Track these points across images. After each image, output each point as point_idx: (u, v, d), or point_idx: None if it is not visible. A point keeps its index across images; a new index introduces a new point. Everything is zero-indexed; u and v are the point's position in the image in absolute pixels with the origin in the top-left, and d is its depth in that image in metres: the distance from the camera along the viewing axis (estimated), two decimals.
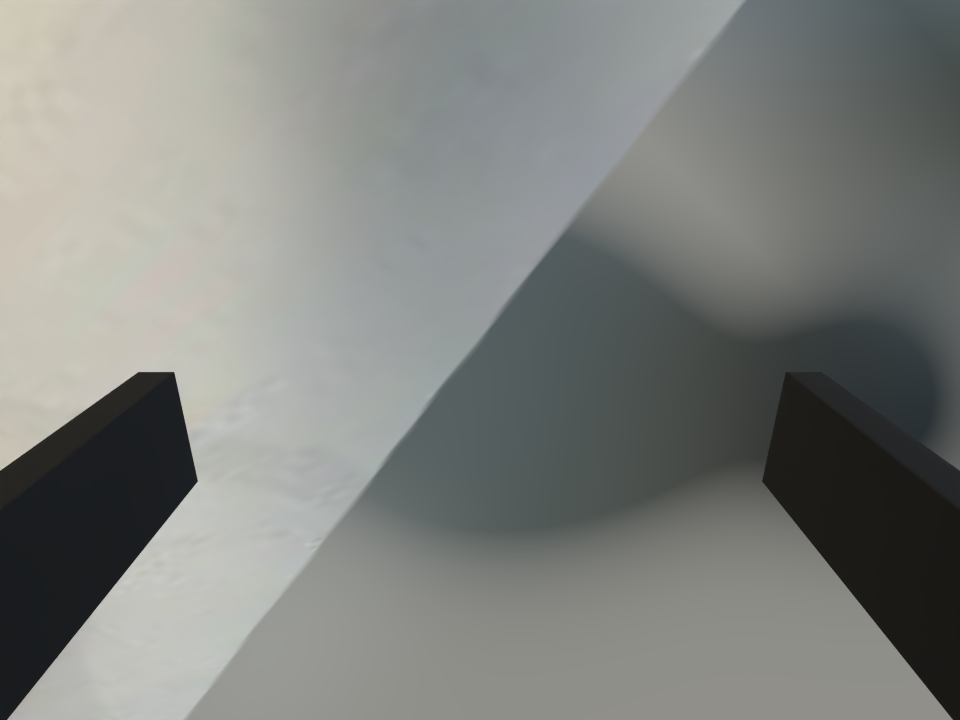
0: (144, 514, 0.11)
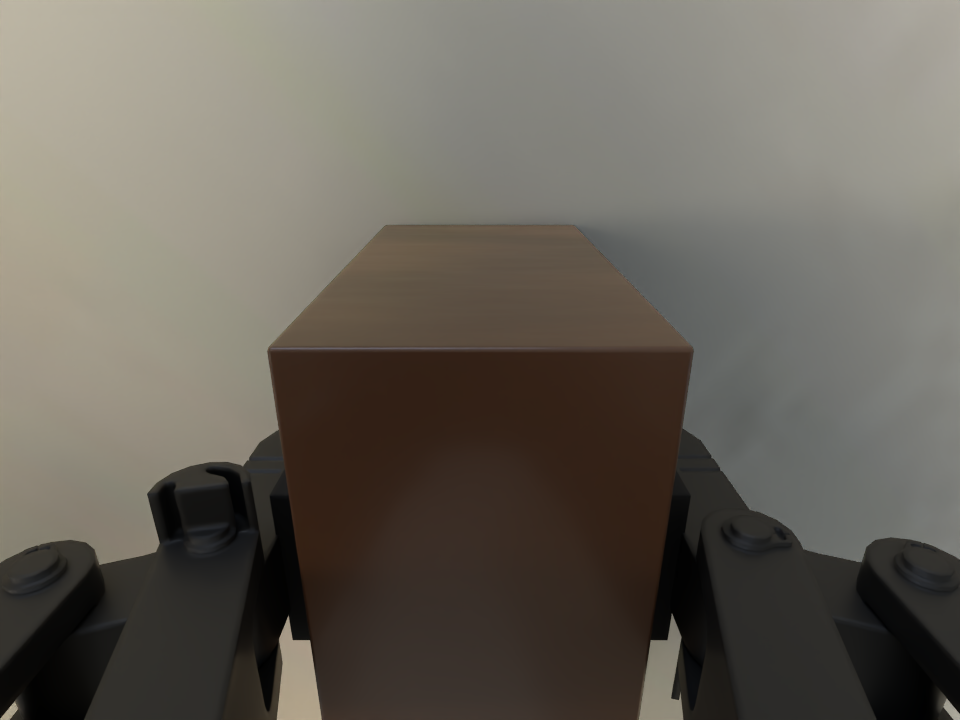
0: None
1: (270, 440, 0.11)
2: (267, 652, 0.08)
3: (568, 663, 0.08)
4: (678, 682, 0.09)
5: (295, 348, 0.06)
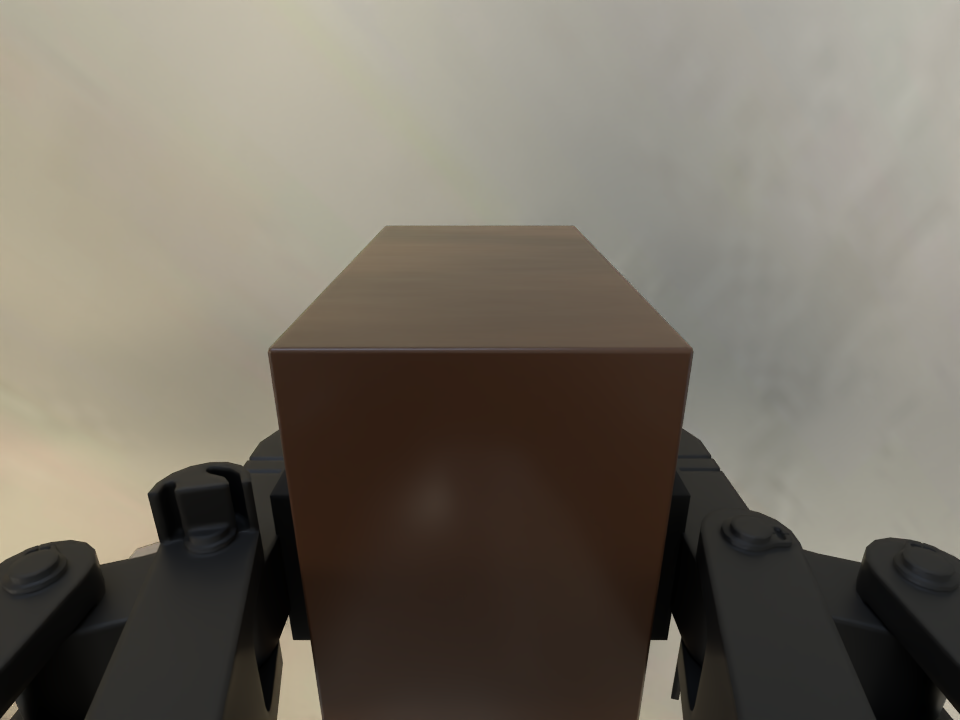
0: None
1: (271, 440, 0.11)
2: (267, 652, 0.08)
3: (568, 663, 0.08)
4: (678, 682, 0.09)
5: (295, 349, 0.06)
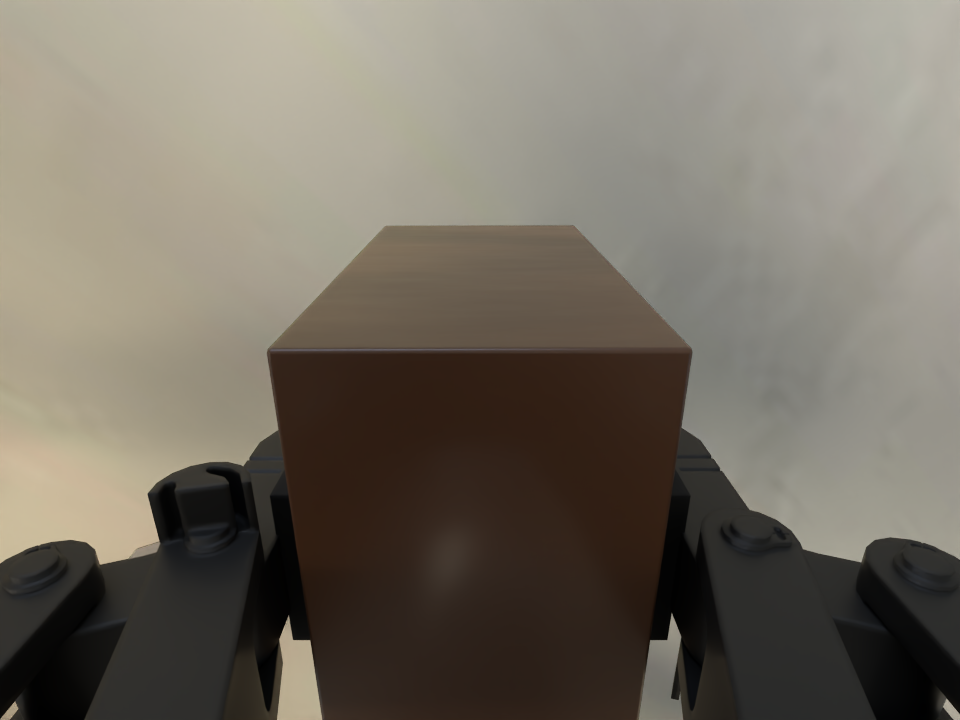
0: None
1: (270, 440, 0.11)
2: (267, 652, 0.08)
3: (567, 663, 0.08)
4: (677, 682, 0.09)
5: (294, 350, 0.06)
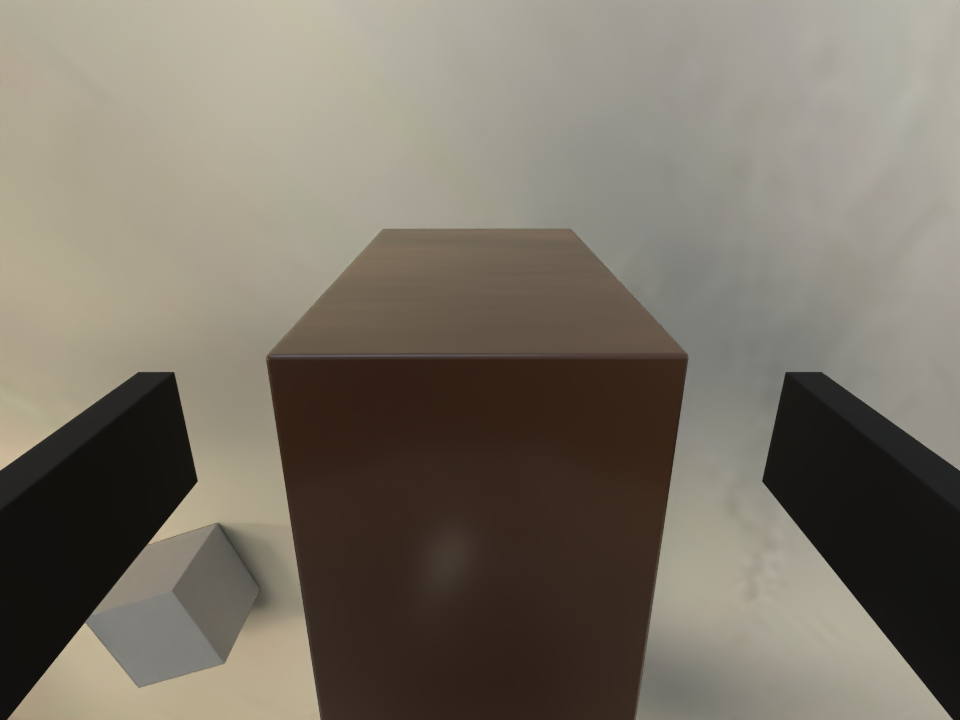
0: (144, 514, 0.11)
1: None
2: None
3: (565, 666, 0.08)
4: None
5: (293, 356, 0.06)
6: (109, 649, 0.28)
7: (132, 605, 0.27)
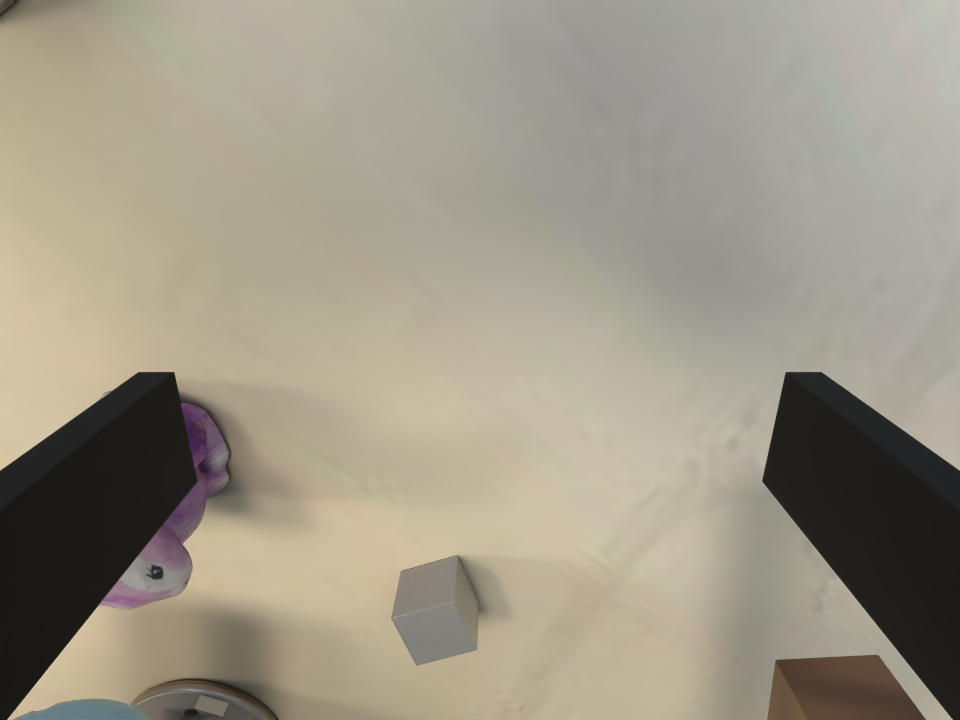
0: (144, 514, 0.11)
1: None
2: None
3: None
4: None
5: None
6: (404, 638, 0.43)
7: (426, 610, 0.42)
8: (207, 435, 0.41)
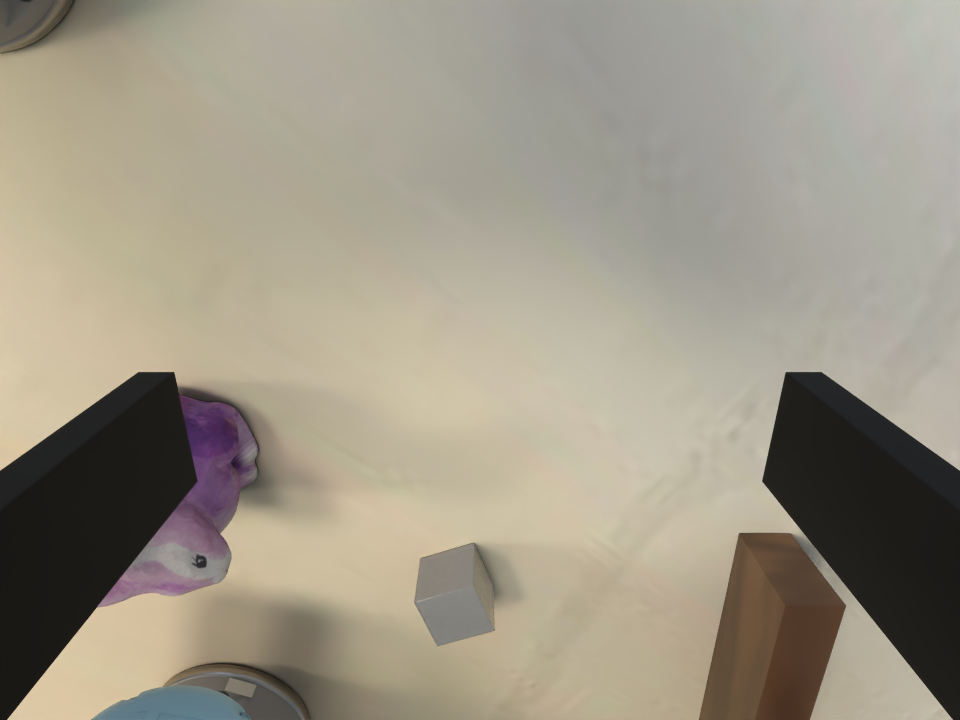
0: (144, 514, 0.11)
1: None
2: None
3: (818, 650, 0.43)
4: None
5: (788, 604, 0.42)
6: (425, 621, 0.46)
7: (447, 594, 0.45)
8: (238, 432, 0.44)
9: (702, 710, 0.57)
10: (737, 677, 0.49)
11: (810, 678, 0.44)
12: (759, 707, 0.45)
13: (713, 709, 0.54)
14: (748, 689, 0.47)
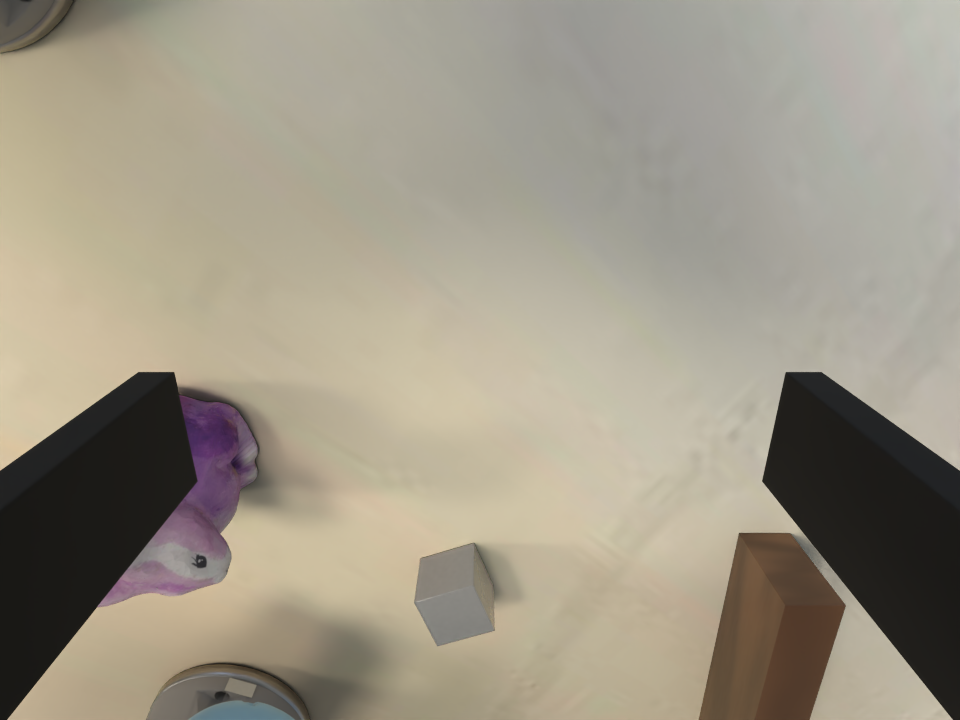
0: (144, 514, 0.11)
1: None
2: None
3: (817, 650, 0.43)
4: None
5: (788, 604, 0.42)
6: (425, 621, 0.46)
7: (447, 594, 0.45)
8: (238, 432, 0.44)
9: (702, 710, 0.57)
10: (737, 677, 0.49)
11: (810, 678, 0.44)
12: (759, 707, 0.45)
13: (713, 709, 0.54)
14: (748, 689, 0.47)
